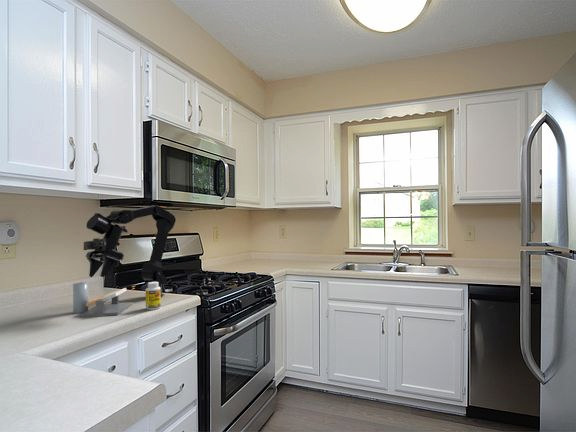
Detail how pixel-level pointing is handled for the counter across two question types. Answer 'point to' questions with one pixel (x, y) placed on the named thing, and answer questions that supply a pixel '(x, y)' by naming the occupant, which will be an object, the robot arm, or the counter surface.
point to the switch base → (107, 308)
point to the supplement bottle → (153, 296)
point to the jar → (80, 297)
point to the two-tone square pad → (106, 297)
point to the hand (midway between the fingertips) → (96, 276)
